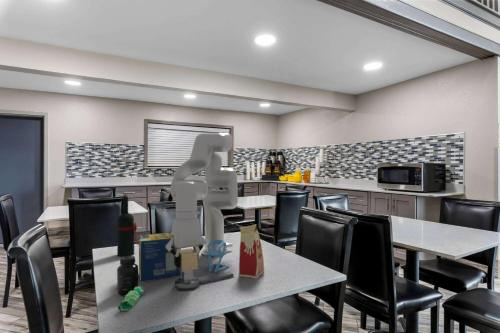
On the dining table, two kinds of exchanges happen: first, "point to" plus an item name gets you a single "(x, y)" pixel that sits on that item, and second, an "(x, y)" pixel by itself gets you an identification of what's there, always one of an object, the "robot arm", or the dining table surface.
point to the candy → (131, 298)
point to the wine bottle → (126, 231)
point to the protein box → (156, 258)
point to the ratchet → (197, 280)
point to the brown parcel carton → (188, 259)
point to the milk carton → (250, 253)
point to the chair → (217, 254)
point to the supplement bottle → (127, 275)
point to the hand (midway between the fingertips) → (186, 264)
